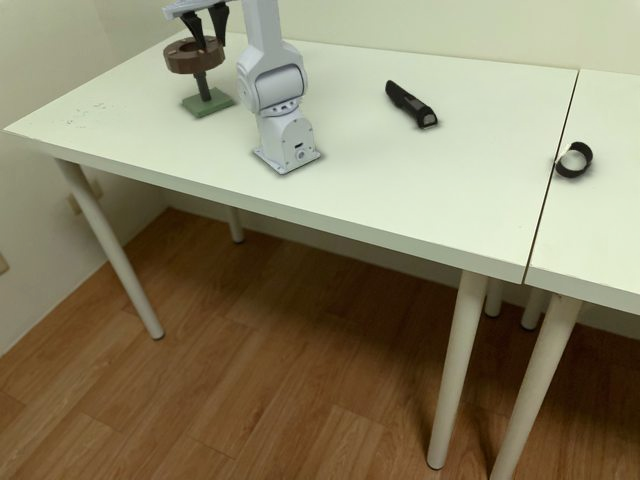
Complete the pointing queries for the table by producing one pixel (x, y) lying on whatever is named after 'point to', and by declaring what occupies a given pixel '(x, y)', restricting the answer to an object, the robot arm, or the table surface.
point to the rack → (206, 98)
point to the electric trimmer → (411, 105)
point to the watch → (580, 148)
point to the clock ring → (194, 55)
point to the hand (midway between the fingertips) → (213, 48)
